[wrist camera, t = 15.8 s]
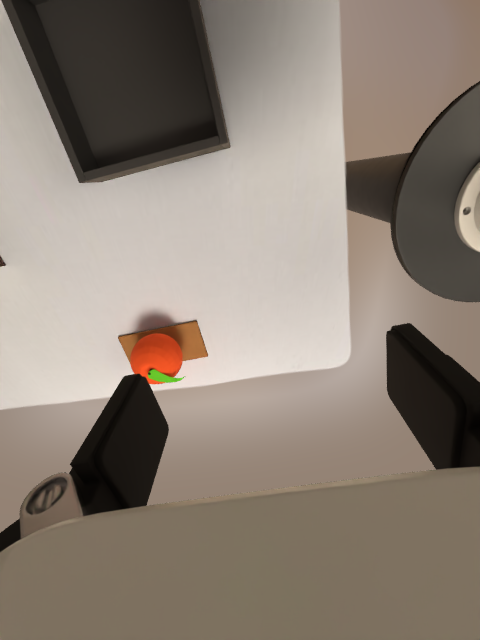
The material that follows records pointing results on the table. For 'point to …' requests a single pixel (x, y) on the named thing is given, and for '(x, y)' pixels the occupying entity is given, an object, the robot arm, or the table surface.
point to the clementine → (157, 358)
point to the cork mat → (181, 333)
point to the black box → (123, 81)
